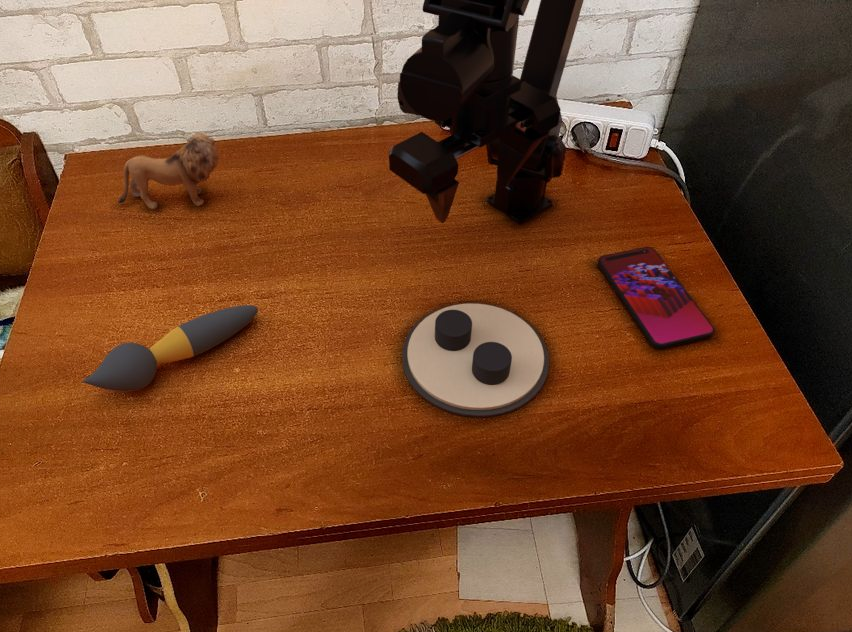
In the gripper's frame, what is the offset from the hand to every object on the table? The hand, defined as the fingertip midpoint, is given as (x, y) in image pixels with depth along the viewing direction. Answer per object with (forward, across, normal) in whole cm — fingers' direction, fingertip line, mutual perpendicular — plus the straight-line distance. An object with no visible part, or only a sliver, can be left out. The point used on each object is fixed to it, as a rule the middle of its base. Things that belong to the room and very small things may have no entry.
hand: (472, 202), depth 75 cm
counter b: (+10, +9, +13) cm, 19 cm away
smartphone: (+11, -14, +17) cm, 25 cm away
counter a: (+10, +9, +7) cm, 15 cm away
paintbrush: (+11, +33, -11) cm, 36 cm away
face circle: (+11, +8, +10) cm, 17 cm away
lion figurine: (+11, +20, -37) cm, 43 cm away
